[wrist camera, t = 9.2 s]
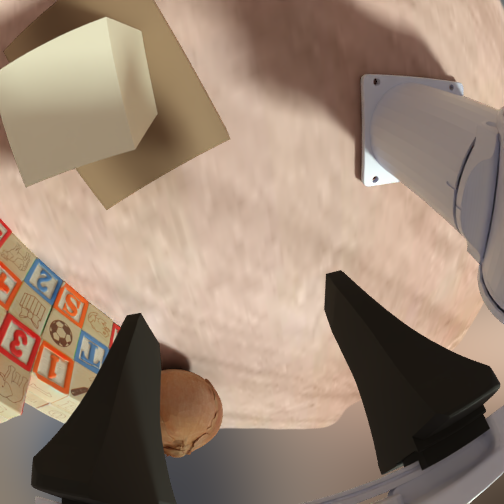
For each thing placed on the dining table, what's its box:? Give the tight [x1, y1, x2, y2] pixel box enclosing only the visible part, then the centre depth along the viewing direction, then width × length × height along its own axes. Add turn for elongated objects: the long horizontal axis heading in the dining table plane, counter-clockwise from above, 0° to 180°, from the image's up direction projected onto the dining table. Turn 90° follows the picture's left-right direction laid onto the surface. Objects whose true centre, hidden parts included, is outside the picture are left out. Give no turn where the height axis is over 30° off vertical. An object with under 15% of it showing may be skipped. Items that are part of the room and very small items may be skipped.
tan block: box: [3, 0, 230, 210], centre depth 13 cm, size 8×12×3 cm, turn 25°
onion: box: [160, 368, 223, 457], centre depth 26 cm, size 10×9×10 cm
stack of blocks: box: [0, 219, 121, 423], centre depth 16 cm, size 21×6×12 cm, turn 31°
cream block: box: [0, 17, 158, 187], centre depth 9 cm, size 4×4×6 cm
